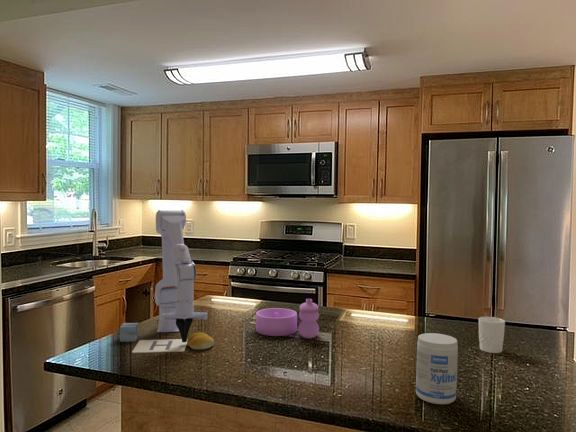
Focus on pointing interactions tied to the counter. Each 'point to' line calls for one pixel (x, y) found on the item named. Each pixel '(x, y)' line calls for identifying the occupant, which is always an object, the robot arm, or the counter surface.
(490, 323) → the white cup
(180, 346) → the letter board
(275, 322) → the container set
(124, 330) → the slate-blue cube
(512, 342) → the counter surface
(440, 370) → the supplement tub
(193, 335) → the bread roll
